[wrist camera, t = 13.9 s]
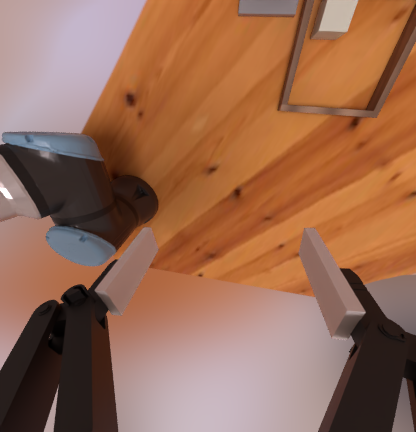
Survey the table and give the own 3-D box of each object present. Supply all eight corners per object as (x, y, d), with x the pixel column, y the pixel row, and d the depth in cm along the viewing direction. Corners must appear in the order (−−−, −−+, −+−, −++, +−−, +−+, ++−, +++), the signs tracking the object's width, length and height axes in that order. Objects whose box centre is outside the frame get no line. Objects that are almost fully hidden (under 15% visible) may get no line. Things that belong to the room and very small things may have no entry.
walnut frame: (277, 110, 36) (280, 110, 33) (306, -12, 27) (312, -22, 25) (368, 116, 34) (376, 117, 32) (430, -11, 25) (447, -22, 23)
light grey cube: (310, 39, 30) (318, 30, 26) (319, 3, 27) (330, -10, 24) (335, 40, 29) (347, 31, 26) (346, 4, 27) (361, -10, 24)
